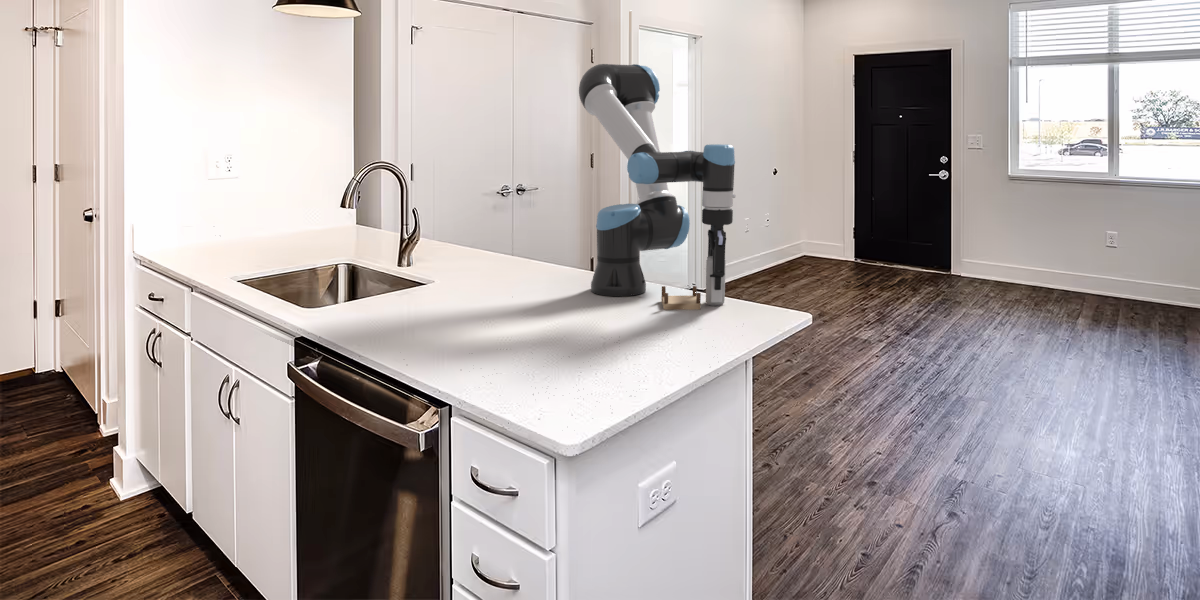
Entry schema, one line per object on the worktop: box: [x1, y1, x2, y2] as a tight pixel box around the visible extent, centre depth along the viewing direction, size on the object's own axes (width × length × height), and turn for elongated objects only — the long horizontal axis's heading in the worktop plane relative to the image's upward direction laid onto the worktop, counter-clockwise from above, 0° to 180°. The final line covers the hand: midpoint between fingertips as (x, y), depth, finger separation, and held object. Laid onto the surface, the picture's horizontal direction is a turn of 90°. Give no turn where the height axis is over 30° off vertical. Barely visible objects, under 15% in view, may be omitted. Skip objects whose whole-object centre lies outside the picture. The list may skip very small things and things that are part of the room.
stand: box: [660, 285, 702, 311], centre depth 193 cm, size 9×9×4 cm
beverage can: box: [705, 256, 727, 307], centre depth 193 cm, size 5×5×12 cm
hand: (714, 299), depth 194 cm, fingers closed on beverage can, 5 cm apart
